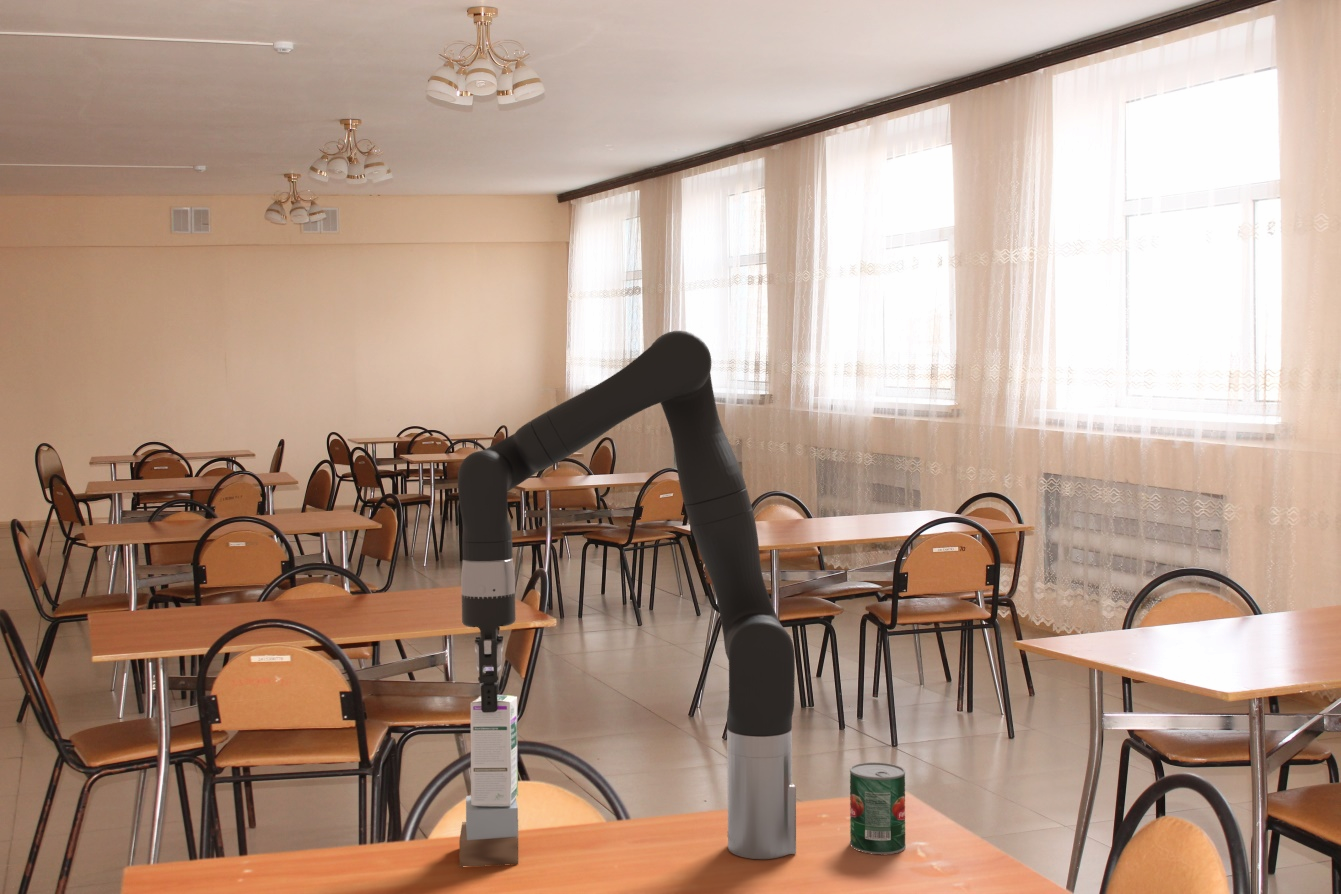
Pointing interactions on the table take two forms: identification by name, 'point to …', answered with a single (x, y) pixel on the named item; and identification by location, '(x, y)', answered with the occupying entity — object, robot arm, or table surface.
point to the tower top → (491, 821)
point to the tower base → (487, 850)
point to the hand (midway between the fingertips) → (490, 704)
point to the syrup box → (494, 753)
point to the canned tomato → (877, 808)
